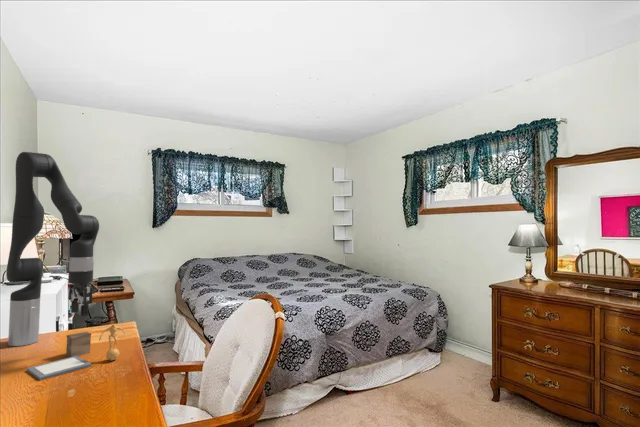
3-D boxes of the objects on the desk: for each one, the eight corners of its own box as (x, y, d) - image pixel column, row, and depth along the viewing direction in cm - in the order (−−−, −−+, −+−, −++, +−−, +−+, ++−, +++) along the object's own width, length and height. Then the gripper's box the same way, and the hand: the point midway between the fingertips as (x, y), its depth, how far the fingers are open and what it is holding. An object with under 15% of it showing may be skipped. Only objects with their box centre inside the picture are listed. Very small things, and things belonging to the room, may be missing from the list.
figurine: (98, 364, 120) (100, 328, 120) (97, 359, 125) (99, 324, 125) (126, 359, 124) (128, 325, 125) (124, 354, 129) (125, 321, 130)
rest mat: (26, 370, 114) (27, 367, 114) (76, 357, 125) (76, 355, 125) (40, 380, 107) (40, 377, 107) (91, 366, 118) (91, 363, 118)
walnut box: (65, 355, 128) (66, 335, 128) (85, 350, 133) (85, 331, 133) (71, 357, 125) (71, 337, 125) (90, 353, 130) (91, 333, 131)
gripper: (61, 268, 131) (59, 313, 131) (77, 271, 123) (75, 319, 122) (84, 267, 137) (82, 309, 137) (101, 269, 129) (99, 315, 128)
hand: (79, 314), depth 129 cm, fingers open, 8 cm apart
